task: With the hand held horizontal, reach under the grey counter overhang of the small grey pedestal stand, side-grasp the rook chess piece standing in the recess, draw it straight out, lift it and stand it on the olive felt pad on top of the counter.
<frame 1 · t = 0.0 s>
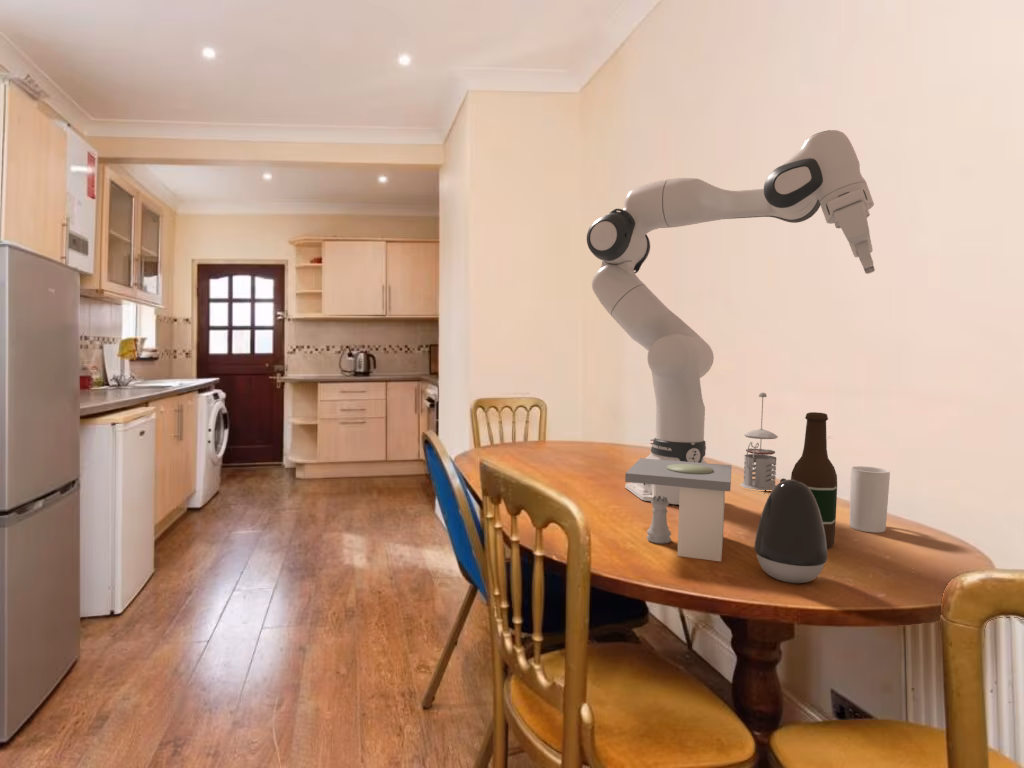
hand: (869, 269, 122), 52 cm above the table, tool tilted 20°, fingers open, 8 cm apart
beer bottle: (810, 543, 111), on the table
french press: (757, 488, 158), on the table
grey pedestal stand: (658, 540, 111), on the table
dark grey egg speaker: (788, 578, 93), on the table
mug: (867, 527, 123), on the table
rook chess piece: (658, 541, 111), on the table
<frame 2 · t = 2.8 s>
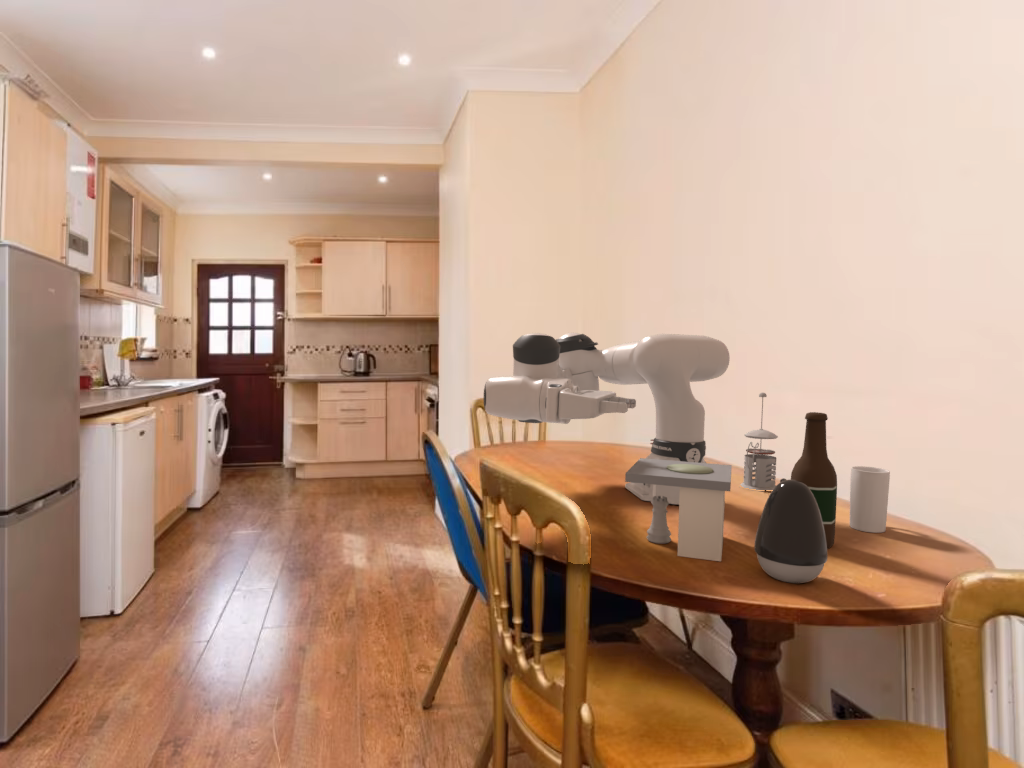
hand: (631, 405, 114), 24 cm above the table, tool horizontal, fingers open, 8 cm apart
nothing on the table moved.
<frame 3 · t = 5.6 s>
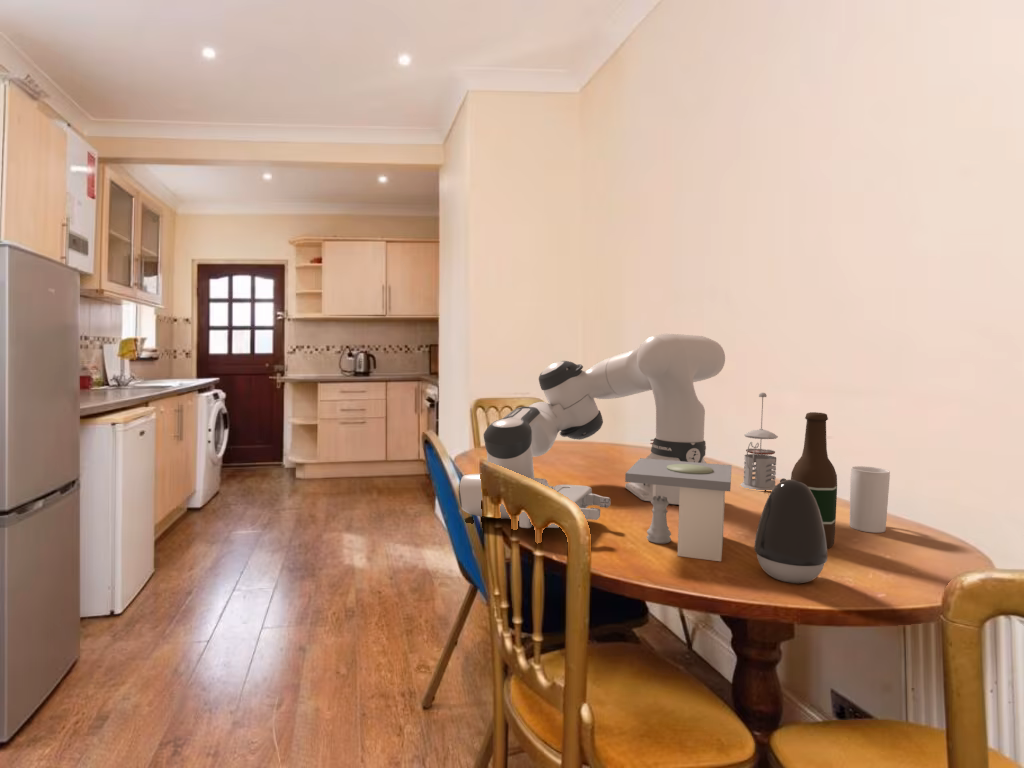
hand: (604, 508, 114), 5 cm above the table, tool horizontal, fingers open, 8 cm apart
nothing on the table moved.
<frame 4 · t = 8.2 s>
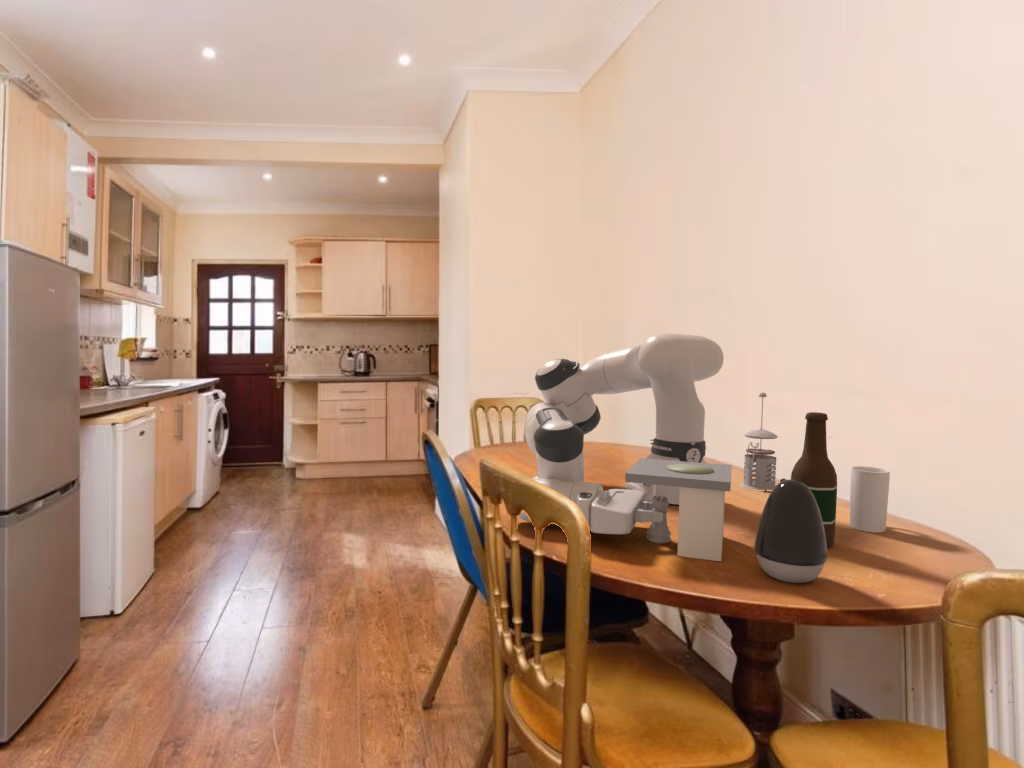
hand: (664, 513, 110), 5 cm above the table, tool horizontal, fingers closed on rook chess piece, 3 cm apart
rook chess piece: (658, 541, 111), on the table, touching gripper
everything else where it was.
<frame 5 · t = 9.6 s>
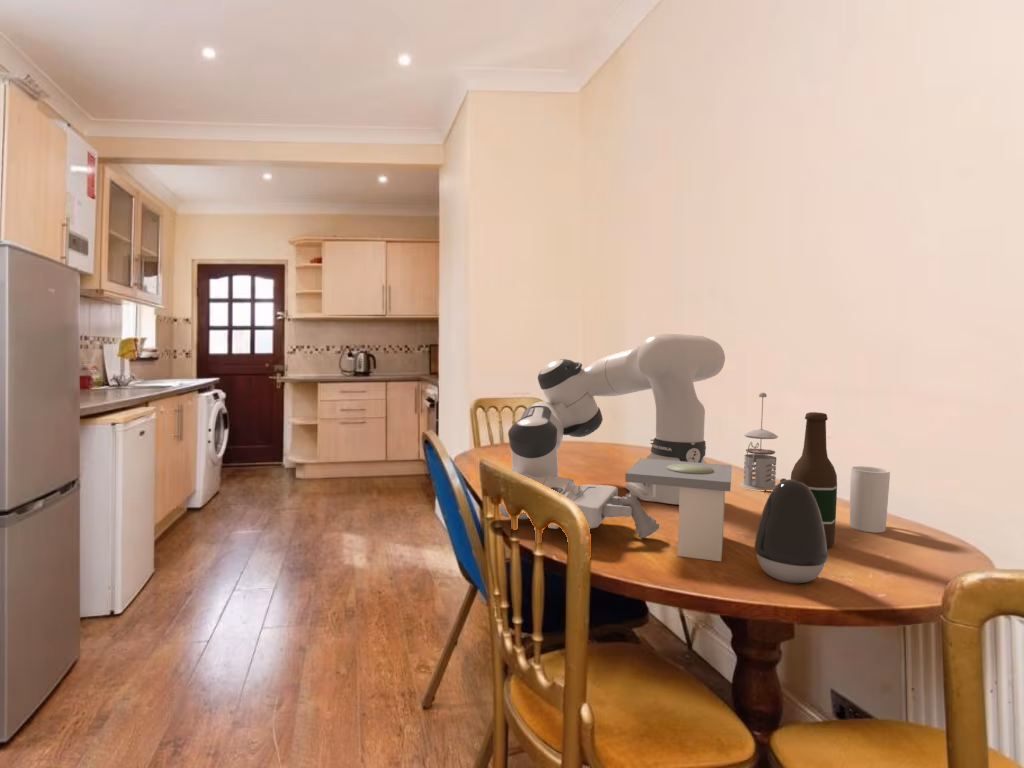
hand: (633, 508, 112), 5 cm above the table, tool horizontal, fingers closed on rook chess piece, 3 cm apart
rook chess piece: (650, 533, 111), point 1 cm above the table, touching gripper
everything else where it was.
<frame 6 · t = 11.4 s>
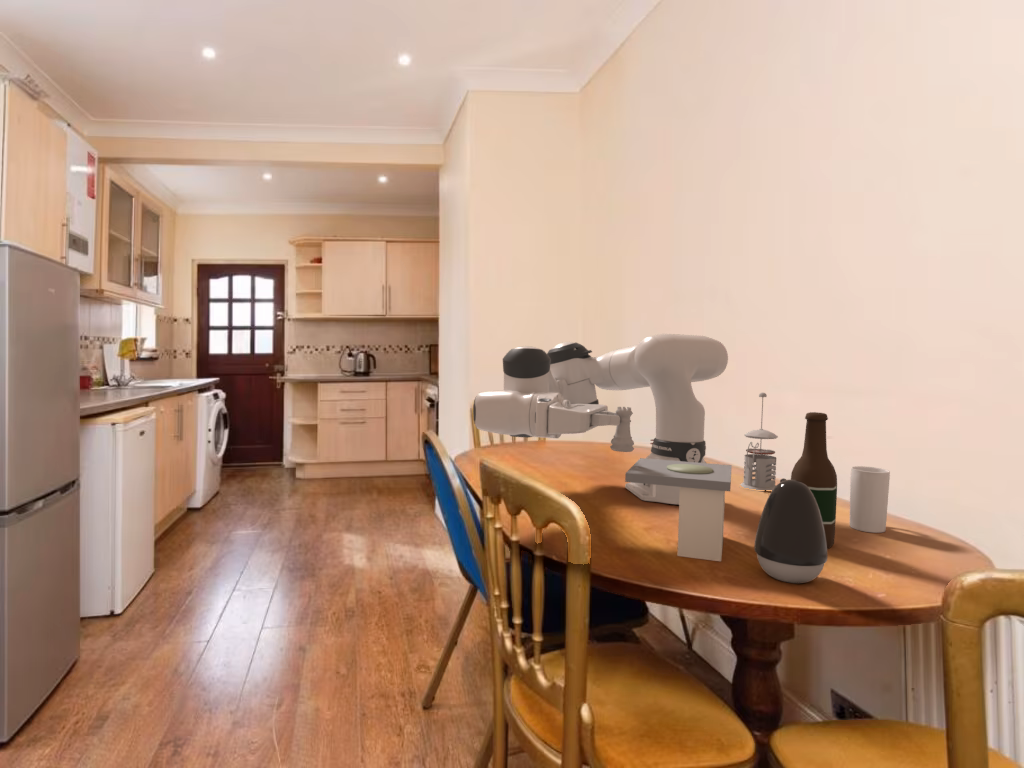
hand: (622, 419, 112), 22 cm above the table, tool horizontal, fingers closed on rook chess piece, 3 cm apart
rook chess piece: (621, 451, 112), point 16 cm above the table, touching gripper
everything else where it was.
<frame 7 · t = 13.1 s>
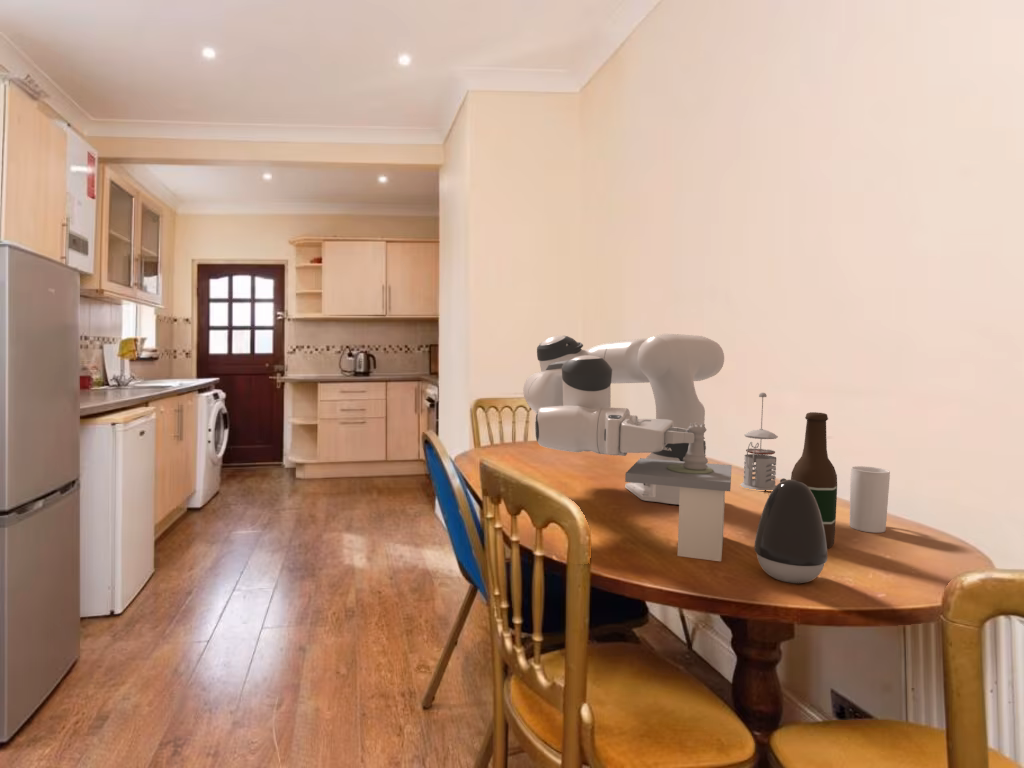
hand: (695, 436, 108), 20 cm above the table, tool horizontal, fingers closed on rook chess piece, 3 cm apart
rook chess piece: (694, 469, 108), point 14 cm above the table, touching grey pedestal stand, gripper
everything else where it was.
when the fingers open (20 cm above the table, at t = 13.2 s): rook chess piece stays where it is, resting on grey pedestal stand.
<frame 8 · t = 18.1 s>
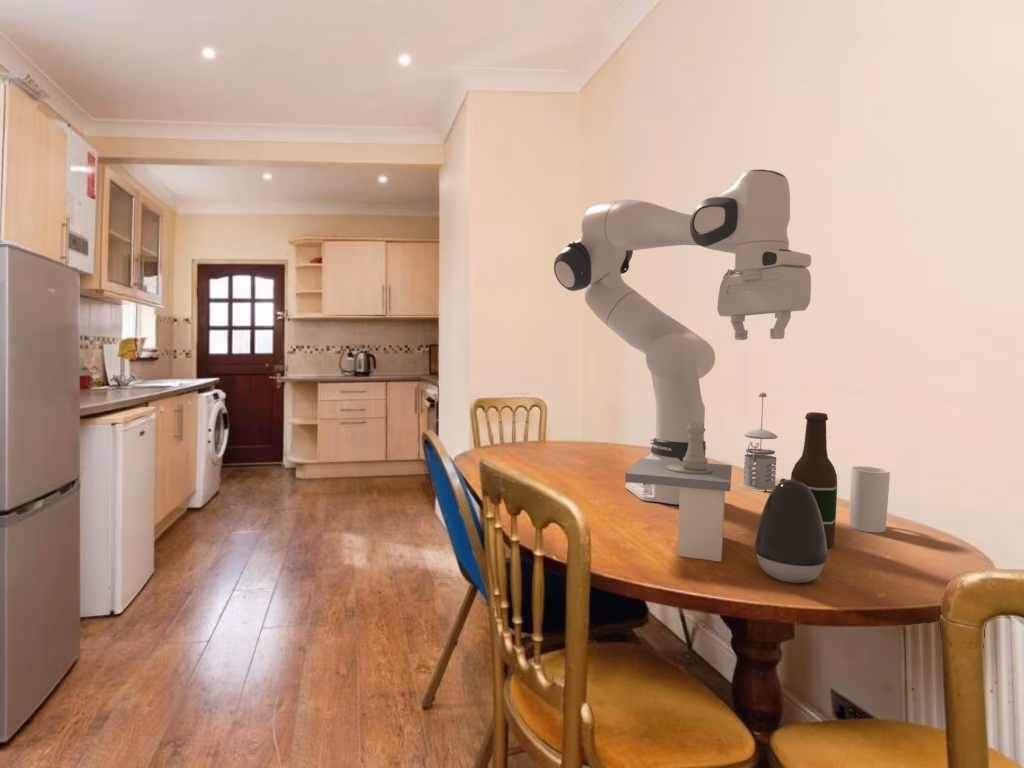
hand: (758, 339, 109), 37 cm above the table, tool pointing down, fingers open, 8 cm apart
rook chess piece: (694, 469, 108), point 14 cm above the table, touching grey pedestal stand
everything else where it was.
at the end: rook chess piece inside the target area (0.9 cm from its centre), point 13.6 cm above the table; rook chess piece tilted 0°; the gripper is holding nothing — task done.
